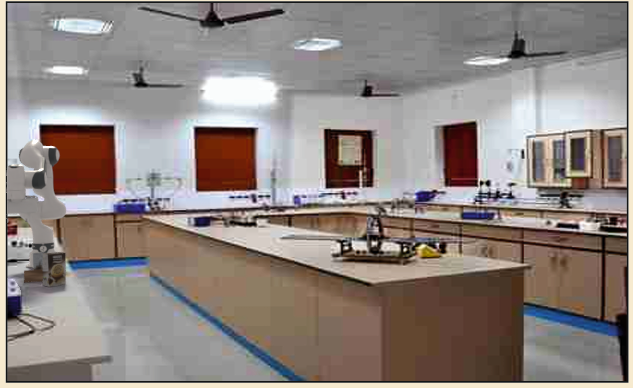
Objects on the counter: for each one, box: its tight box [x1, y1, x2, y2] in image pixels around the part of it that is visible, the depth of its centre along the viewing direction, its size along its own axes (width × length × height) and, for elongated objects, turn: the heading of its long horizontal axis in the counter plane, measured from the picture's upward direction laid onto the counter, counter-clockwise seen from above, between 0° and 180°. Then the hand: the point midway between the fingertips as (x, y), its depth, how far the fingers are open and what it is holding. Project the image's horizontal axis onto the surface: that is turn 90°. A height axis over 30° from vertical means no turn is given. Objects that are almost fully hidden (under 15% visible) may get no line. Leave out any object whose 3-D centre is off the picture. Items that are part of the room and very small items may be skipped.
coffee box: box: [42, 251, 67, 288], centre depth 301 cm, size 9×6×16 cm
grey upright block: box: [32, 252, 44, 270], centre depth 315 cm, size 6×6×11 cm
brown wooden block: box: [23, 269, 43, 284], centre depth 315 cm, size 11×14×6 cm
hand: (16, 222), depth 314 cm, fingers open, 8 cm apart
